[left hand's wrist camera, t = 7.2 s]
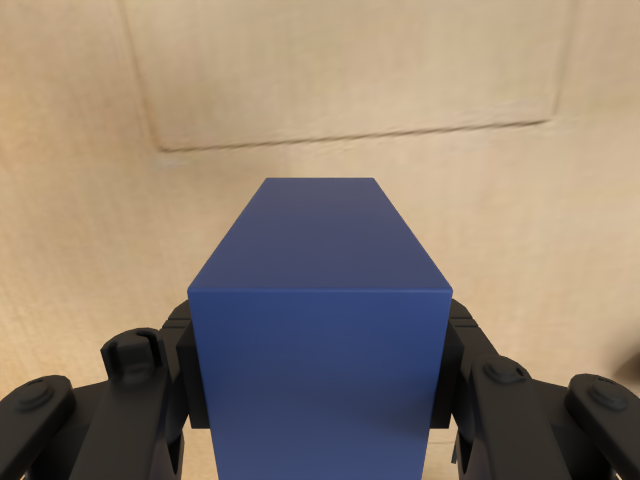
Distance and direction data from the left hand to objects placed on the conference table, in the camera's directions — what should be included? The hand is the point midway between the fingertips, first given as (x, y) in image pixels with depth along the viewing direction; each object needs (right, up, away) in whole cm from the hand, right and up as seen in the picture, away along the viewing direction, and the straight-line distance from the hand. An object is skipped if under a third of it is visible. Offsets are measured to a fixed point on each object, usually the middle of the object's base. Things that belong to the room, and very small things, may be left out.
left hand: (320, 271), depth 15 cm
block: (0, +1, +4) cm, 4 cm away
